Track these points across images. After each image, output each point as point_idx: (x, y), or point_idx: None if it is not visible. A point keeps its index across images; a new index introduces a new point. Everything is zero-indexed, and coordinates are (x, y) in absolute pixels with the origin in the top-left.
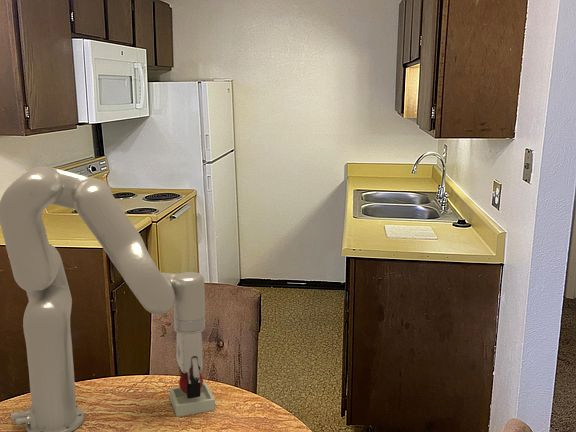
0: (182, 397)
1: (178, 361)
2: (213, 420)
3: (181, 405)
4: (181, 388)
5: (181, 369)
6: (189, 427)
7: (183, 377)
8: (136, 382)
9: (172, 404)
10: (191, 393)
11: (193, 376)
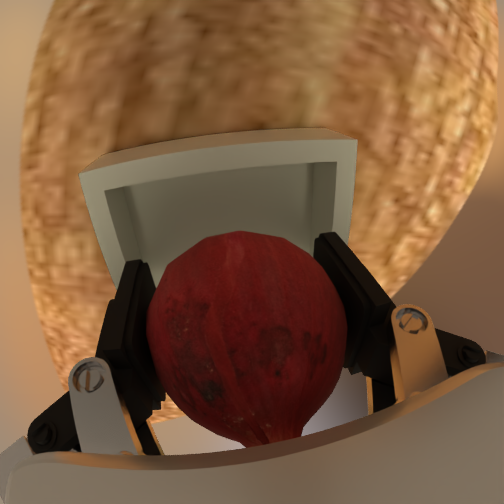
0: (293, 197)
1: (379, 487)
2: (75, 308)
3: (88, 207)
4: (192, 248)
5: (76, 488)
6: (21, 220)
7: (209, 344)
8: (482, 47)
9: (233, 133)
10: (108, 309)
11: (19, 461)
